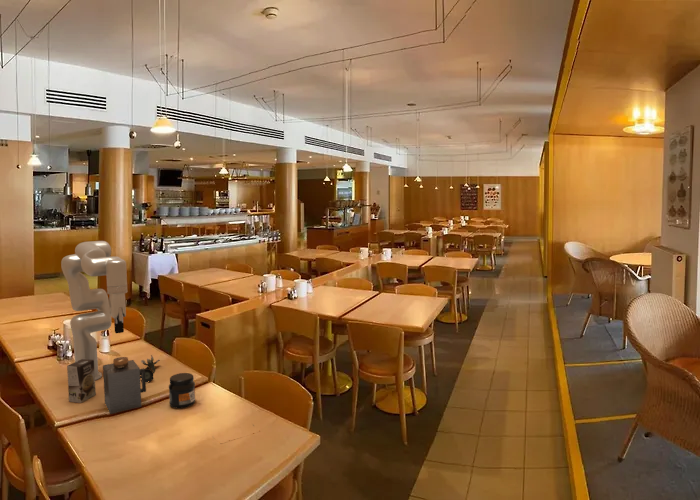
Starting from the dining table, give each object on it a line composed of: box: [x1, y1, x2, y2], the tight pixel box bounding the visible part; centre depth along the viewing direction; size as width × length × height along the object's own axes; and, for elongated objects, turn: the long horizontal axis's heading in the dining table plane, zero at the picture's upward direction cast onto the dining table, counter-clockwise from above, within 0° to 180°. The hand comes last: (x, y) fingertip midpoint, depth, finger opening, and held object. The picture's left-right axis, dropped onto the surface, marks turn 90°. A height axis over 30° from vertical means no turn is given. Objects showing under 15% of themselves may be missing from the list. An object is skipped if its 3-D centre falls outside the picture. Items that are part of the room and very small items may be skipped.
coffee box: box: [66, 359, 96, 404], centre depth 215 cm, size 9×6×16 cm
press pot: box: [102, 359, 147, 415], centre depth 209 cm, size 12×15×17 cm
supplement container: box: [168, 372, 196, 409], centre depth 210 cm, size 10×10×12 cm
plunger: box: [112, 356, 129, 368], centre depth 208 cm, size 10×10×18 cm
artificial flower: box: [140, 354, 161, 383], centre depth 244 cm, size 9×22×10 cm, turn 8°
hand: (119, 332), depth 206 cm, fingers closed
